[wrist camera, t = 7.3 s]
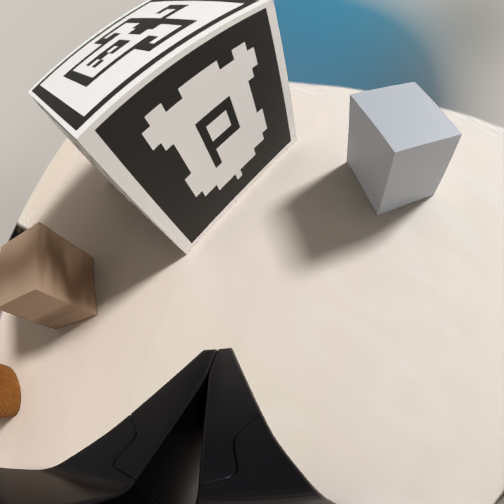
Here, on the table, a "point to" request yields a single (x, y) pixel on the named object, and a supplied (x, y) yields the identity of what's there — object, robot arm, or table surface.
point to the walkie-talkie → (501, 501)
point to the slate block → (398, 145)
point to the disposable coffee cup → (9, 392)
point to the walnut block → (46, 279)
